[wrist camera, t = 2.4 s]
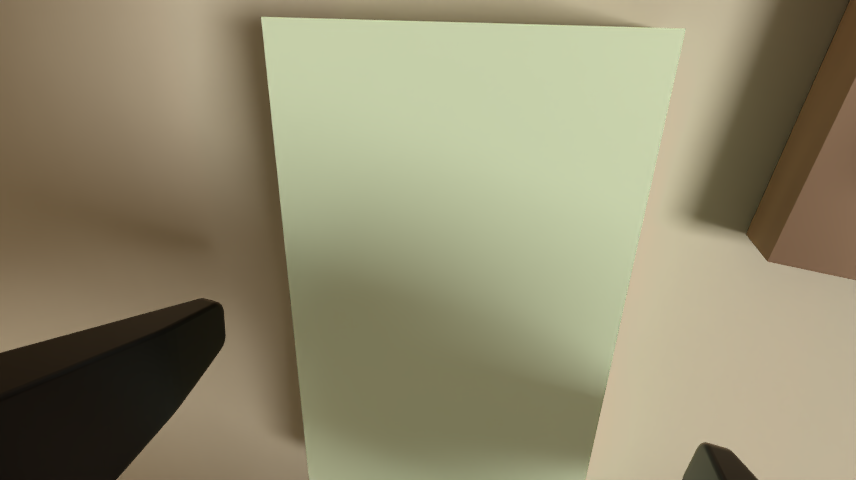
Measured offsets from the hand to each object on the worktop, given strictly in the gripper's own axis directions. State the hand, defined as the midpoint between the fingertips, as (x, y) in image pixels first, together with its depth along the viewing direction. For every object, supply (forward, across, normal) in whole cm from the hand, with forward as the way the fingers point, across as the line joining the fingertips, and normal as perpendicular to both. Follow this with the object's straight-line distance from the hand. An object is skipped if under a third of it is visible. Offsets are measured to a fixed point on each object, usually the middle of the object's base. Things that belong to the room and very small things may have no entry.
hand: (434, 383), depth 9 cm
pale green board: (+3, 0, 0) cm, 3 cm away
